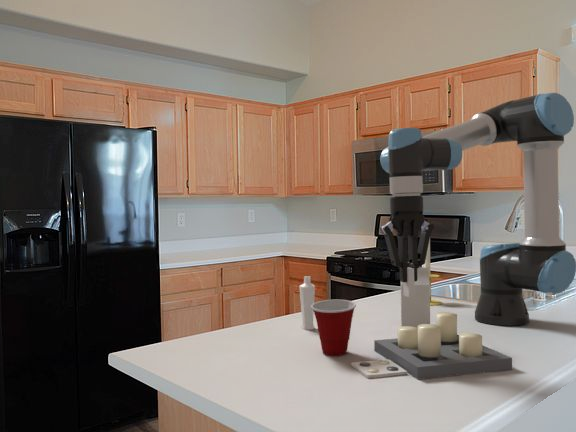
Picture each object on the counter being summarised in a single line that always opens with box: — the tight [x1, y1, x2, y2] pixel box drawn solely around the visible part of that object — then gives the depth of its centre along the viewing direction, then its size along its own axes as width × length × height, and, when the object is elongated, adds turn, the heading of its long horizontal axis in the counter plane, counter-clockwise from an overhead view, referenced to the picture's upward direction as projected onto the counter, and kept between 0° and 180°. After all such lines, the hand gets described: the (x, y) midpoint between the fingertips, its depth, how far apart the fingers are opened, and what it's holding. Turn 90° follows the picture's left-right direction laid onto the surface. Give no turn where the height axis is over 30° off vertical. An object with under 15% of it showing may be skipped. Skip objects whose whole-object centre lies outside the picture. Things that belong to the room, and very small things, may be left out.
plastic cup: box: [311, 298, 357, 357], centre depth 126 cm, size 11×11×12 cm
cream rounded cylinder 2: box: [458, 332, 483, 358], centre depth 115 cm, size 5×5×6 cm
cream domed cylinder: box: [418, 323, 441, 357], centre depth 113 cm, size 5×5×6 cm
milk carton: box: [400, 266, 431, 328], centre depth 136 cm, size 7×7×19 cm
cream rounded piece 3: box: [397, 326, 418, 349], centre depth 123 cm, size 5×5×6 cm
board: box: [373, 334, 513, 380], centre depth 119 cm, size 22×22×2 cm
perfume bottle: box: [298, 275, 316, 331], centre depth 151 cm, size 5×4×15 cm
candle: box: [423, 238, 443, 307], centre depth 186 cm, size 10×10×27 cm
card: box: [351, 359, 408, 379], centre depth 112 cm, size 9×9×1 cm
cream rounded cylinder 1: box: [435, 311, 458, 342], centre depth 125 cm, size 5×5×6 cm
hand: (409, 295), depth 123 cm, fingers closed
